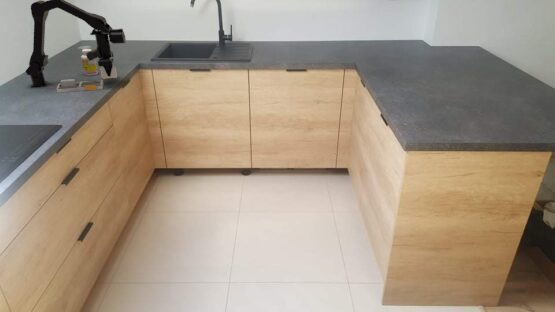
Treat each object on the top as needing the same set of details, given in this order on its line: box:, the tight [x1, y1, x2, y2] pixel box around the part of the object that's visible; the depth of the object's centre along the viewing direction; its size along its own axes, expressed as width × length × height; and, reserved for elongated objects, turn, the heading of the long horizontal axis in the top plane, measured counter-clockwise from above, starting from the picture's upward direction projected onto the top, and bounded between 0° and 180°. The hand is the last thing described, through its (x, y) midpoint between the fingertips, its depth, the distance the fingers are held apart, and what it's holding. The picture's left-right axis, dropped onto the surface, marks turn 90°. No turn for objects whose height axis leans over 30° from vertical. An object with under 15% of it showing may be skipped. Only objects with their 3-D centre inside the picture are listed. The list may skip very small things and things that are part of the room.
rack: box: [56, 79, 104, 94], centre depth 195 cm, size 8×20×2 cm, turn 108°
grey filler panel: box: [60, 78, 77, 87], centre depth 194 cm, size 2×6×4 cm, turn 108°
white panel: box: [99, 66, 118, 80], centre depth 202 cm, size 2×7×5 cm, turn 108°
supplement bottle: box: [80, 48, 99, 77], centre depth 213 cm, size 7×7×13 cm
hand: (109, 75), depth 203 cm, fingers closed on white panel, 2 cm apart
